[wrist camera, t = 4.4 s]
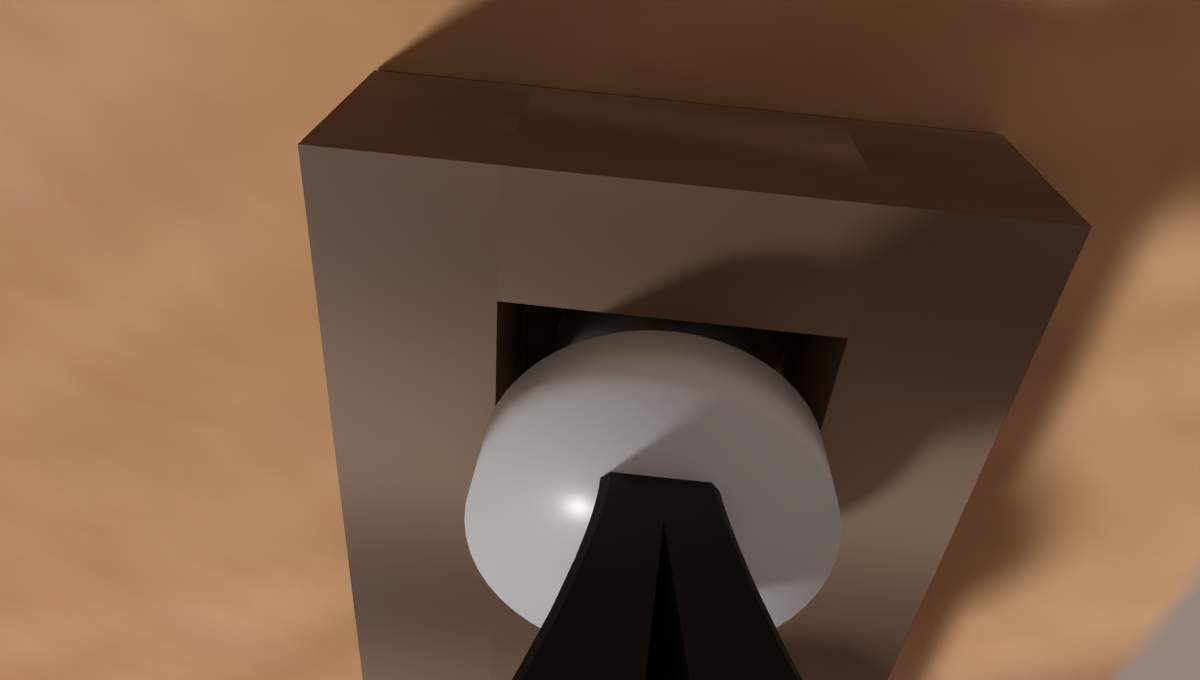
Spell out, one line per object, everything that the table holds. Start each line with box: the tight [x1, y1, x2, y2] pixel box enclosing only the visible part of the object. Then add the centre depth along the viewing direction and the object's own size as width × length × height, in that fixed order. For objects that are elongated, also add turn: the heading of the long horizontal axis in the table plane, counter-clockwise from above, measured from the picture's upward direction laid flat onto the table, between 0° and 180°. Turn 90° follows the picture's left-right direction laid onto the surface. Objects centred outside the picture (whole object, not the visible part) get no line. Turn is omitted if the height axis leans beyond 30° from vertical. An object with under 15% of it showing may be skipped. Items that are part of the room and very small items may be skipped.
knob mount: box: [298, 70, 1091, 680], centre depth 15 cm, size 16×9×3 cm, turn 175°
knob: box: [464, 308, 841, 628], centre depth 12 cm, size 5×5×4 cm
